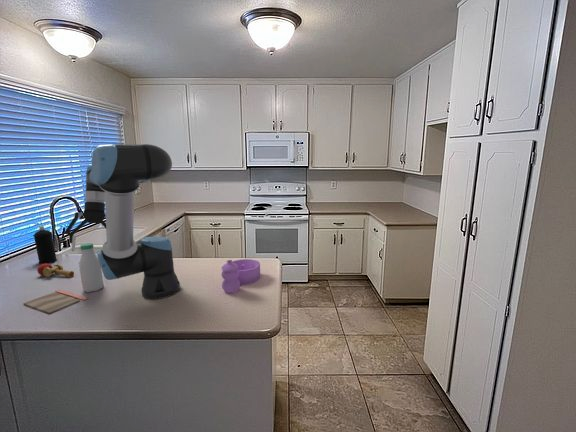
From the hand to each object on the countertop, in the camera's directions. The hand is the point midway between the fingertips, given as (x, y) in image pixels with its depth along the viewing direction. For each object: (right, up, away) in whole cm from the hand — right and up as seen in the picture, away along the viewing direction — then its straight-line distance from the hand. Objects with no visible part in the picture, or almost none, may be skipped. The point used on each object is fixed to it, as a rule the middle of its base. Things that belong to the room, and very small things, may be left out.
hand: (92, 251), depth 136 cm
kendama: (-28, -14, +18) cm, 36 cm away
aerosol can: (-48, -10, +38) cm, 63 cm away
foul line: (-6, -18, -4) cm, 19 cm away
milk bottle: (-1, -17, +2) cm, 17 cm away
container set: (+63, -15, +5) cm, 65 cm away
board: (-9, -19, -11) cm, 24 cm away
